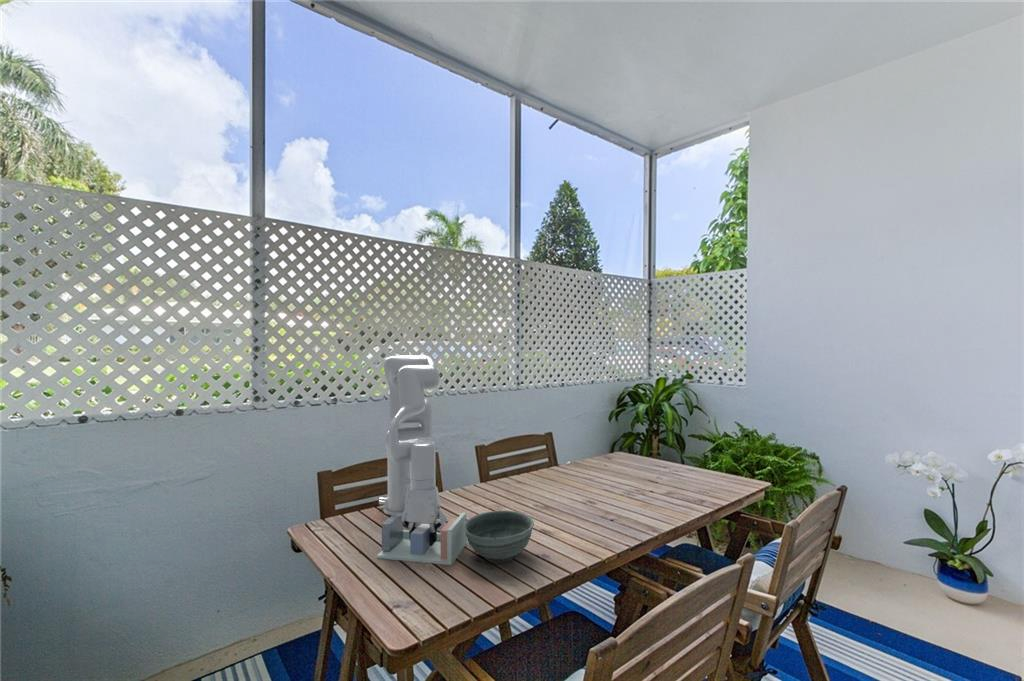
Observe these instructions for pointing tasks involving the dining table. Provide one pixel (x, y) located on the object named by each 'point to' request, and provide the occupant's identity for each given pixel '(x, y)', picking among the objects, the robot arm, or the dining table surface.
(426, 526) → the book
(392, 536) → the bookend
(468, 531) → the bowl
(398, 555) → the mint u-shaped tray
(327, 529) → the dining table surface
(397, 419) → the robot arm
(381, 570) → the dining table surface
